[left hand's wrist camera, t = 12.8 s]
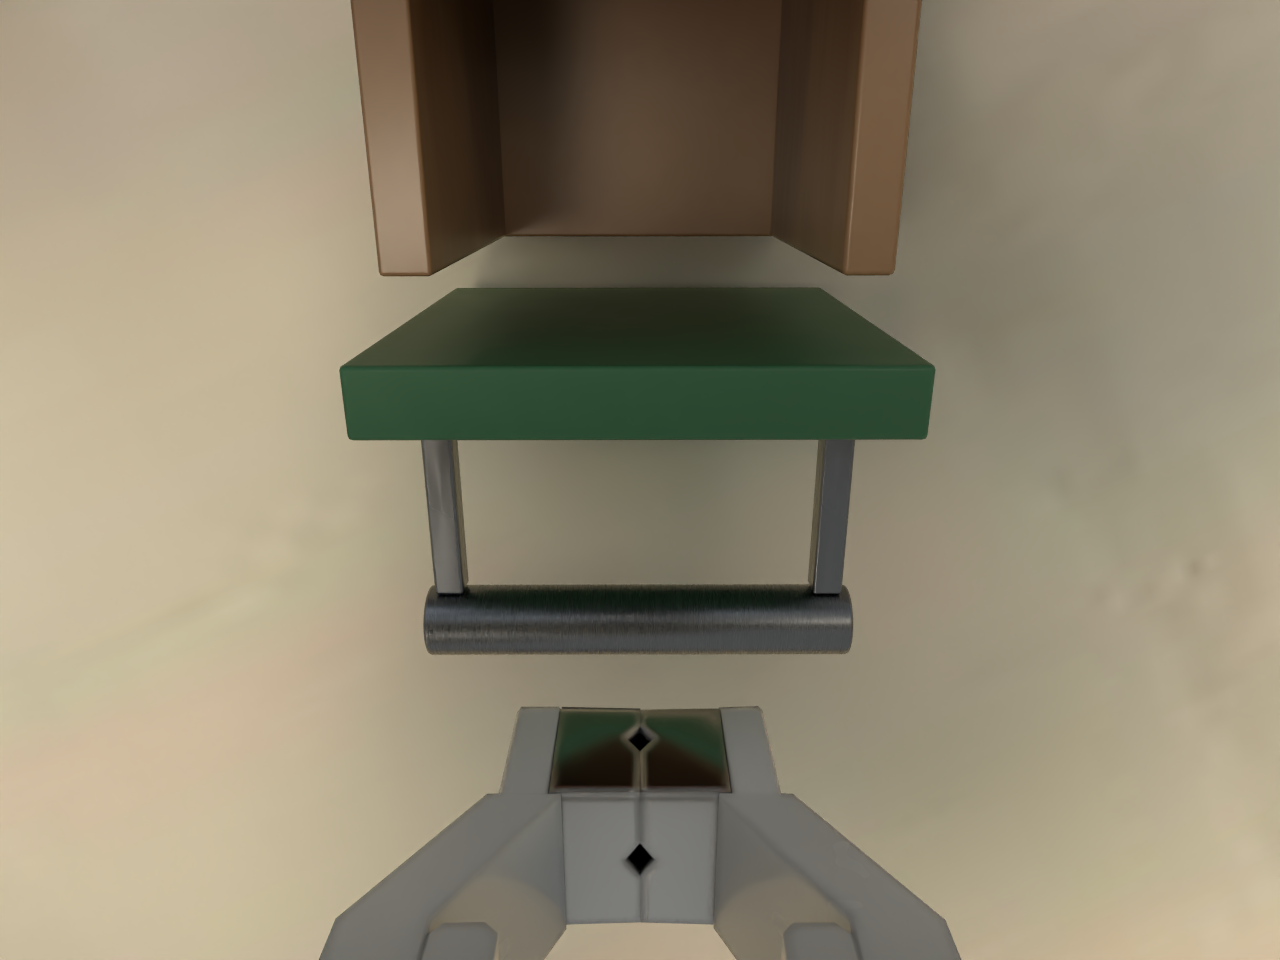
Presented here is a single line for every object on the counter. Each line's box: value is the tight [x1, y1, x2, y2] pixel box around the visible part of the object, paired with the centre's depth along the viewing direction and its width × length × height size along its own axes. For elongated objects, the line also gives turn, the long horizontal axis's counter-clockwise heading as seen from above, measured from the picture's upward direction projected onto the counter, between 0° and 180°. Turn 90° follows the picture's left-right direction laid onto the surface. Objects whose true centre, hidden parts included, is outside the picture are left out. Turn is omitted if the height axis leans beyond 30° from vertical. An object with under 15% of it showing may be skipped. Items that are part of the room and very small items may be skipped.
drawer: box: [340, 0, 935, 655], centre depth 16 cm, size 18×9×9 cm, turn 0°
